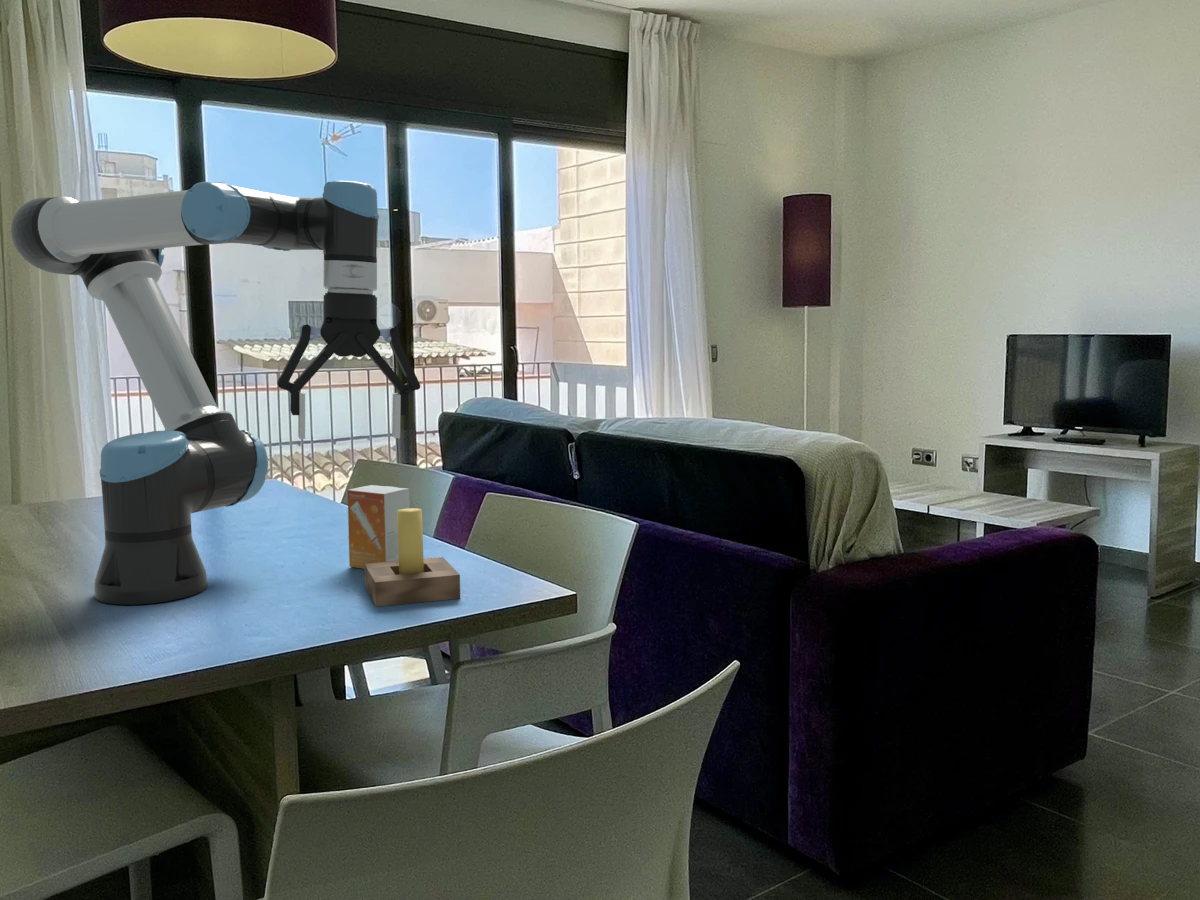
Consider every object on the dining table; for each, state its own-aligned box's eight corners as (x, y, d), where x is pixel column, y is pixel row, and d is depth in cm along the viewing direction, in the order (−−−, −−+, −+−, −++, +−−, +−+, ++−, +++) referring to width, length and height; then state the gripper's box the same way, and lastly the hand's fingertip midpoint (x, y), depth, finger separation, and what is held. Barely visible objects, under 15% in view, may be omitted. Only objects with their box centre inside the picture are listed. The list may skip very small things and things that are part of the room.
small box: (348, 567, 159) (346, 489, 158) (375, 560, 165) (373, 484, 163) (386, 573, 155) (384, 493, 154) (412, 565, 161) (410, 487, 159)
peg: (401, 594, 141) (398, 513, 140) (397, 588, 145) (395, 509, 144) (426, 592, 143) (423, 511, 141) (422, 586, 146) (419, 507, 145)
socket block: (376, 606, 136) (375, 582, 136) (365, 586, 148) (364, 563, 147) (460, 598, 141) (459, 574, 140) (443, 579, 152) (443, 557, 151)
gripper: (260, 287, 133) (261, 441, 136) (441, 296, 142) (438, 440, 145) (258, 288, 140) (259, 434, 143) (430, 296, 149) (428, 433, 152)
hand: (349, 437), depth 144 cm, fingers open, 13 cm apart
